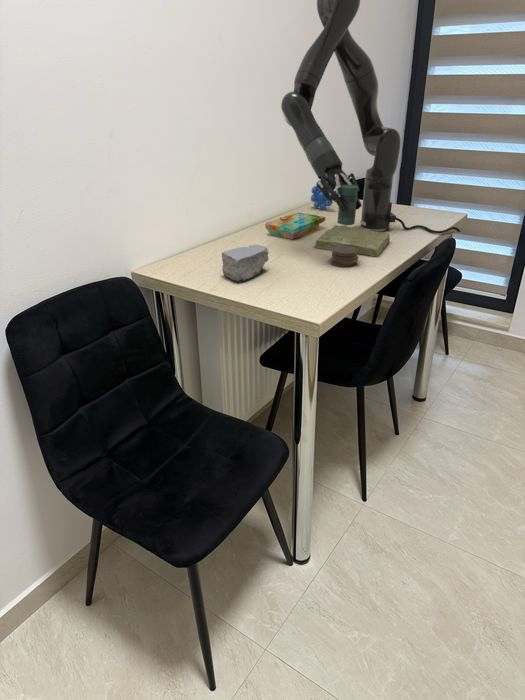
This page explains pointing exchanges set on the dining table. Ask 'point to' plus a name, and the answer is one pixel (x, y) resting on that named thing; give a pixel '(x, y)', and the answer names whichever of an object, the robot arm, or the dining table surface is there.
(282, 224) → the puzzle game
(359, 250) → the decorative tile
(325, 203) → the grapes
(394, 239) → the dining table surface
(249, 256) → the decorative stone
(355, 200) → the chip column
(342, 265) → the chip pile
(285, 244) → the dining table surface
